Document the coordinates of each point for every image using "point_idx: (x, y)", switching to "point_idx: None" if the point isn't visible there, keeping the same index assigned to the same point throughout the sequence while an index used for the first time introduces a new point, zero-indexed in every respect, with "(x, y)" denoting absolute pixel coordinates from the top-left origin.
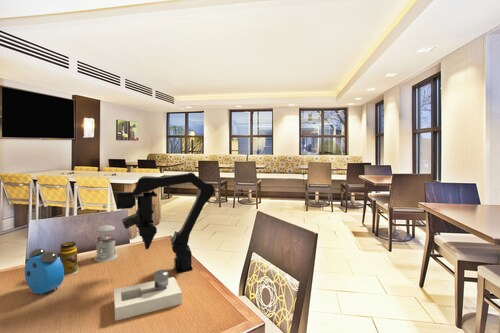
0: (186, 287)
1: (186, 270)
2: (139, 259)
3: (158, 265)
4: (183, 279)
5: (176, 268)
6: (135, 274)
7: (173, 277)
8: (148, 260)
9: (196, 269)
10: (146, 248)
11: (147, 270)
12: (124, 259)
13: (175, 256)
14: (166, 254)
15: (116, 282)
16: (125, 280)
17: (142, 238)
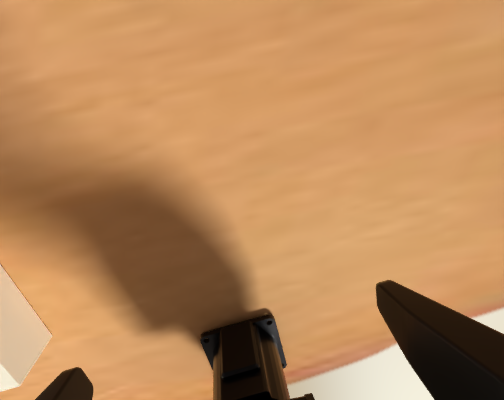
0: (52, 376)
1: (211, 365)
2: (443, 121)
3: (314, 240)
4: (131, 358)
5: (220, 337)
6: (224, 132)
7: (10, 385)
8: (403, 178)
9: None
10: (60, 386)
11: (264, 193)
12: (493, 8)
13: (259, 380)
14: (442, 260)
15: (119, 20)
16: (145, 81)
17: (409, 316)
